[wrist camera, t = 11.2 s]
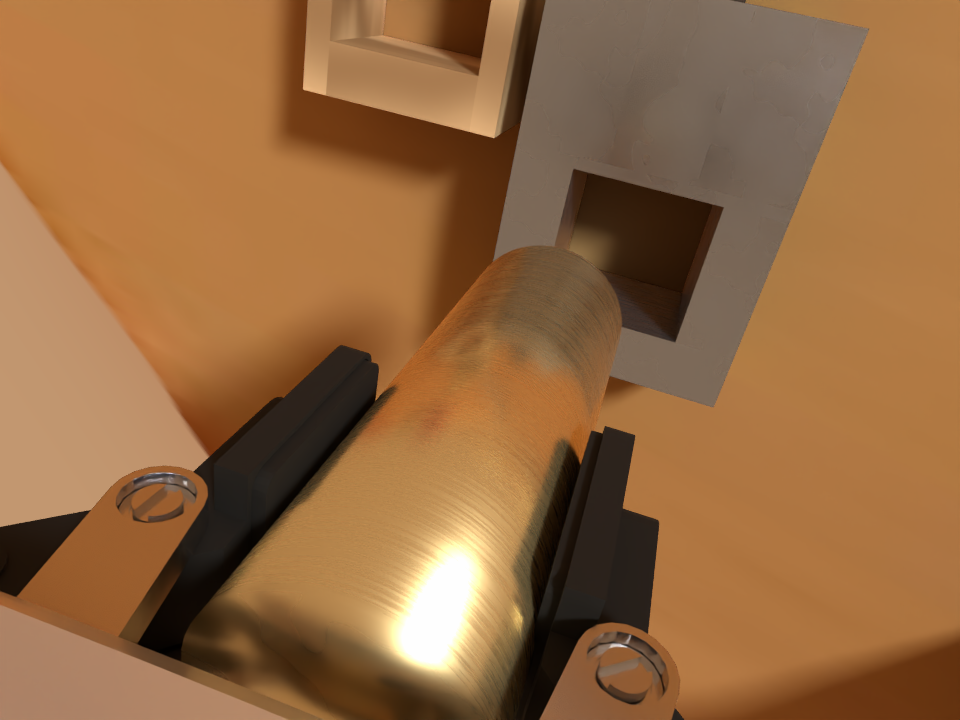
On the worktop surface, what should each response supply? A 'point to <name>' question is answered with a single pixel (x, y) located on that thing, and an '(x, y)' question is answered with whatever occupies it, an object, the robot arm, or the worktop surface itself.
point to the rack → (423, 65)
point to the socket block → (678, 154)
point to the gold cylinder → (431, 515)
